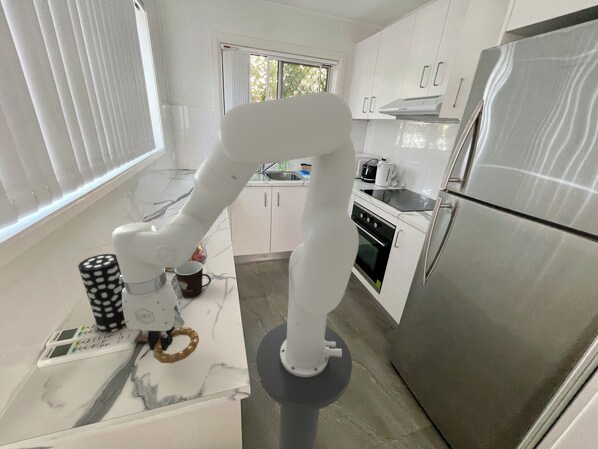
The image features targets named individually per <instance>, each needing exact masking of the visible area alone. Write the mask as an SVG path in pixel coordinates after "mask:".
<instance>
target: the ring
mask: <svg viewBox="0 0 598 449" xmlns="http://www.w3.org/2000/svg"><path fill="white" fill-rule="evenodd" d="M171 334H172V338H173V339H174V338H177V337H179V336H187V337H188V338H189V339H190V342H189V344H188V345H187V346H186V347H184V348H183V349H182V350H181V351H178V352H176V353H165V351H163V349H162V346H161V342H160V338H161V337H160V338H159V340H158V341H157V343H156V344H155V346H154V350H153V358H154V359H155V360H157V361H158V362H159V363H160V364H175V363H177V362H178V363H179V362H180V361H181V362H182V361H183V360H185V359H187V358H188V357H189V356H191V354H193V353H194V352H195V351H196V349H197V347H198V345H199V343H200V337H199V333H198V331H196V330H195V329H193V328H191V327H184V326H182V327H181V328H179V329H174V330H173V331H172V332H171Z"/></svg>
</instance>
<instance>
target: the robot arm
mask: <svg viewBox="0 0 598 449" xmlns="http://www.w3.org/2000/svg"><path fill="white" fill-rule="evenodd" d="M353 120H354V119H353V113H352V111H351V108H350V106H349V104H348V103H347V101H345V99H343V98H342V97H341V96H339V94H336V93H333V92H328V91H318V92H310V93H305V94H298V95H293V96H287V97H282V98H281V97H280V98H275V99H269V100H261V101H254V102H247V103H241V104H237V105H235V106H233V107H231V108H230V109H229V110H227V111H226V112H225V113H224V115H223V116H222V118H221V120H220V123H219V126H218V131H217V132H218V136H217V137H218V138H217V139H216V141H215V142H214V144H213V145H212V147H211V148H210V149H209V151H208V152H207V154H206V156H205V158H204V159H203V160H202V162H201V163H200V165H199V166H198V168H197V169H196V170H195V172H194V174H193V178H192V181H193V188H192V191H191V193H190V195H189V196H188V198H187V199H186V201H185V202H184V204H183V205H182V207H181V208H180V209H179V211H178V213H176V215H175V217H174V218H173V219H172V220H170V221H169V222H168V223H167V224H166V225H165V226H163V227H162V228H159V229H157V227H156V226H155V225H154V224H153V223H150V222H147V221H146V222H145V221H136V222H130V223H125V224H122V225H120V226H117V227H116V228H115V229H114V230H113V231H112V232H111V242H112V243H111V244H112V246H113V250H114V253H115V255H116V257H117V261H118V264H119V268H120V271H121V275H120V276H119V280H120V281H123V282H124V286H125V287H124V288H123V290H122V308H123V314H124V318H125V322H126V327H127V328H128V329H129V330H133V331H139V332H142V333H143V336H144V337H147V340H148V343H147V344H148V346H149V351H152V352H154V346H155V344H156V343H157V341H158V340H159V338H160V335H159V331H161V335H162V336H161V338H160V342H161V346H162V349H163V352H167V350H168V349H169V347H170V346H171V345H172V343H173V340H174V337H173V338H172V334H171V332H172V331H173V330H174V329H179V328H181V327H184V325H185V321H184V319H183V317H182V316H181V308H180V304H179V301H178V298H177V294H176V291H175V289H174V287H173V285H172V283H171V281H170V280H168V277H167V272H166V270H165V267H169V268H175V267H180V266H182V265H184V264H185V263H187V262H188V261H189V259H190V258H191V256H192V255H193V253H194V252H195V250H196V248H197V247H198V245H199V244H200V245H201V243H202V241H203V239H204V238H205V236H206V235H207V234H208V232H209V230H210V229H211V228H212V226H213V225H214V224H215V222H216V221H217V220H218V218H219V217H220V215H222V213H223V211H225V209H226V208H227V207H229V206H231V205H232V204H234V202H235V201H236V200H237V199H238V197H239V196H240V195H241V193H242V191H243V190H244V189H245V187H246V186H247V185H248V183H249V182H250V181H251V179H252V178H253V177H254V175H255V174H256V172H257V171H258V170H259V168H260V167H261V166H262V165H269V164H275V163H283V162H288V161H294V160H300V159H306V158H310V160H311V170H310V176H309V182H308V188H307V191H306V196H305V201H304V205H303V208H302V212H301V217H300V222H299V223H300V231H301V235H302V238H303V242H302V243H300V244H298V245H297V246H295V248H294V249H293V251H291V254H290V257H289V260H288V301H287V302H288V303H287V339H286V340H285V341H284V342H283V344H282V346H281V349H280V359H281V362H282V364H283V366H284V367H285V368H286V370H288V371H289V372H290V373H292V374H294V375H296V376H299V377H312V376H315V375H317V374H319V373H321V372H322V371H323V370H324V369H325V367H326V365H327V363H328V358H329V356H334V357H342V349H329V347H336V342H327V341H326V340H325V330H326V326H327V321H328V314H329V313H330V312H332V311H333V310H335V309H336V308H337V307H338V306H339V304H341V301H342V299H343V297H344V296H345V293H346V290H347V286H348V284H349V281H350V277H351V274H352V271H353V268H354V265H355V262H356V259H357V256H358V252H359V246H360V238H359V237H360V236H359V231H358V227H357V224H356V223H355V221H354V220H353V219H352V217H351V216H350V215H349V212H348V211H349V205H350V200H351V196H352V192H353V188H354V183H355V179H356V172H357V155H356V150H355V147H354V144H353V141H352V137H351V133H352V129H353Z"/></svg>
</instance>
